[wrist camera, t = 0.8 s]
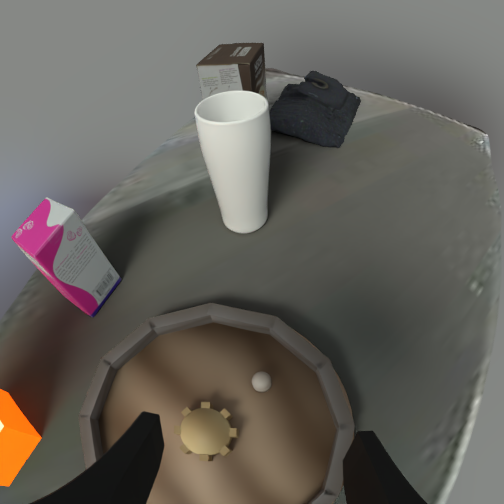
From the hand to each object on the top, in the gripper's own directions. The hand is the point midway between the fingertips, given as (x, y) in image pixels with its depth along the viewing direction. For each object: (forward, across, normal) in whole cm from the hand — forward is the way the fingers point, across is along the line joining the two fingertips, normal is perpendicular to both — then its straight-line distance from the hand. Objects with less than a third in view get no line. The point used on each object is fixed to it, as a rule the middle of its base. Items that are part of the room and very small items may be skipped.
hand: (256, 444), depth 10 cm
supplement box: (+22, +19, +7) cm, 30 cm away
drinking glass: (+30, +3, 0) cm, 30 cm away
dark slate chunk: (+52, -6, -15) cm, 55 cm away
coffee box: (+41, +4, -7) cm, 42 cm away
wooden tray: (+10, +3, +13) cm, 17 cm away
